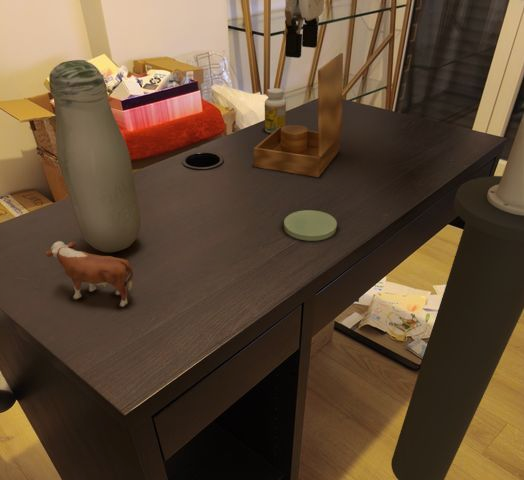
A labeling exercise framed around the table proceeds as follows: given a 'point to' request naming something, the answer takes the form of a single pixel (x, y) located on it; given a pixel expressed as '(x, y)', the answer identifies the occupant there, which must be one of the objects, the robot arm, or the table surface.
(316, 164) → the wooden box
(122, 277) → the bull figurine
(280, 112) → the supplement bottle
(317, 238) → the plate
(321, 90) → the lid
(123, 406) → the table surface
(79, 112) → the grey green bottle
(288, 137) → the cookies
